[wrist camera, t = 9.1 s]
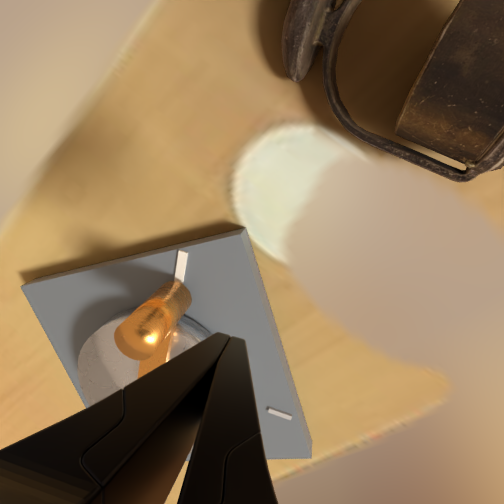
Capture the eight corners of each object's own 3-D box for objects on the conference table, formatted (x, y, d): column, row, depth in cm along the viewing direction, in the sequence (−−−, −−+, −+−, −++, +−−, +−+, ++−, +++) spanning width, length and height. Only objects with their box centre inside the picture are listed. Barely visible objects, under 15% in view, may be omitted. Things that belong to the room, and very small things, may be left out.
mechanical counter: (431, 259, 15) (764, 69, 9) (218, 49, 13) (478, -383, 7) (413, 196, 21) (609, 55, 15) (264, 44, 18) (426, -193, 13)
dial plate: (35, 278, 27) (18, 287, 26) (246, 227, 22) (239, 234, 20) (124, 448, 32) (114, 464, 31) (312, 441, 27) (311, 460, 25)
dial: (219, 452, 27) (194, 527, 22) (91, 402, 28) (39, 462, 23) (264, 307, 21) (244, 362, 16) (101, 253, 23) (35, 288, 18)
